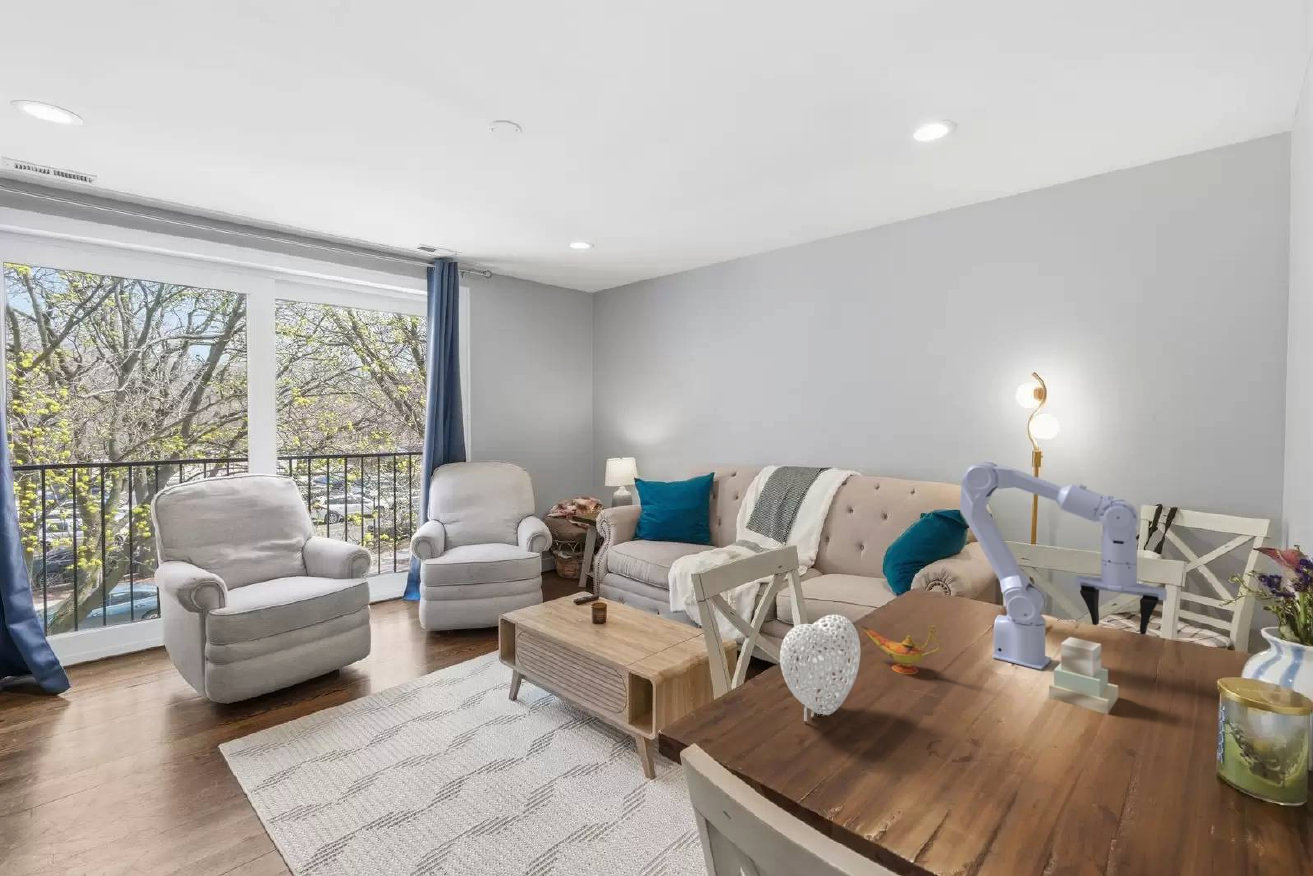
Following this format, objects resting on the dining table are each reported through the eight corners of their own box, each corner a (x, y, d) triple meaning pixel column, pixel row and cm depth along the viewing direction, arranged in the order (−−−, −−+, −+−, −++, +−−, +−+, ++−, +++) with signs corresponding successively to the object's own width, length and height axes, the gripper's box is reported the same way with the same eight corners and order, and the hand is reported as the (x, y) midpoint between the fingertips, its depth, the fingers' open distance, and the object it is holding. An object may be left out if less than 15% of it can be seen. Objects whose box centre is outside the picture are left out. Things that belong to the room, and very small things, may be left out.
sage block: (1054, 685, 113) (1054, 669, 113) (1064, 674, 118) (1064, 659, 118) (1099, 697, 108) (1099, 681, 108) (1107, 685, 113) (1107, 669, 113)
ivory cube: (1061, 669, 113) (1061, 643, 113) (1070, 662, 116) (1070, 637, 116) (1092, 678, 109) (1092, 650, 109) (1101, 670, 112) (1101, 644, 112)
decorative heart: (827, 690, 118) (826, 603, 117) (876, 710, 109) (875, 617, 109) (765, 718, 107) (764, 623, 106) (814, 743, 98) (813, 640, 98)
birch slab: (1049, 701, 113) (1049, 685, 113) (1061, 686, 119) (1061, 671, 119) (1107, 717, 107) (1107, 701, 107) (1118, 701, 113) (1118, 685, 113)
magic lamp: (866, 651, 138) (866, 603, 137) (947, 675, 124) (947, 622, 124) (850, 659, 133) (850, 610, 133) (932, 685, 119) (932, 630, 119)
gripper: (1070, 558, 123) (1070, 624, 123) (1162, 570, 112) (1162, 642, 112) (1079, 553, 127) (1079, 616, 128) (1168, 564, 117) (1168, 633, 117)
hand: (1118, 628), depth 120 cm, fingers open, 7 cm apart
